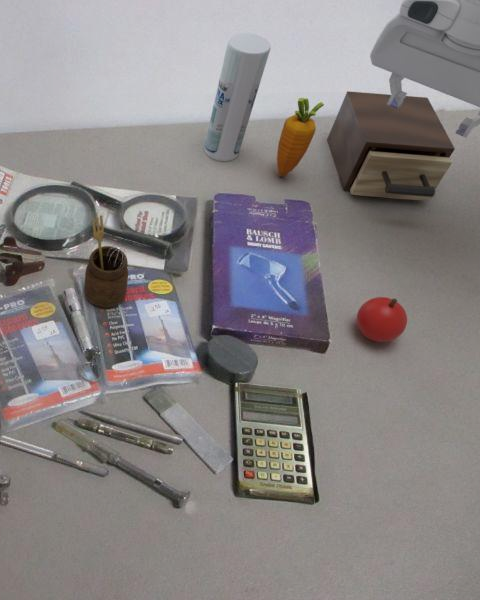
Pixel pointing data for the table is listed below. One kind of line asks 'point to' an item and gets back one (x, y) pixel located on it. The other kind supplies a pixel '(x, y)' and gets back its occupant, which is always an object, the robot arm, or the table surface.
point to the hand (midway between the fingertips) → (427, 119)
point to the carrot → (296, 137)
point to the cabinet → (383, 130)
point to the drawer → (400, 173)
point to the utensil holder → (105, 272)
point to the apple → (381, 319)
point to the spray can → (236, 95)
